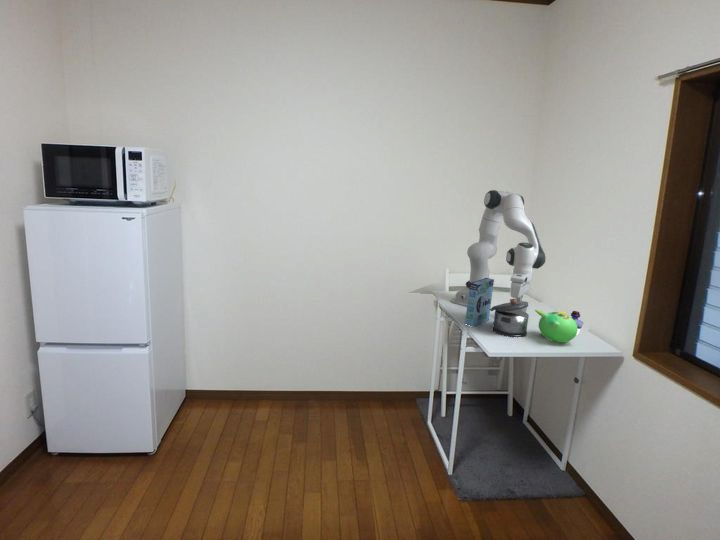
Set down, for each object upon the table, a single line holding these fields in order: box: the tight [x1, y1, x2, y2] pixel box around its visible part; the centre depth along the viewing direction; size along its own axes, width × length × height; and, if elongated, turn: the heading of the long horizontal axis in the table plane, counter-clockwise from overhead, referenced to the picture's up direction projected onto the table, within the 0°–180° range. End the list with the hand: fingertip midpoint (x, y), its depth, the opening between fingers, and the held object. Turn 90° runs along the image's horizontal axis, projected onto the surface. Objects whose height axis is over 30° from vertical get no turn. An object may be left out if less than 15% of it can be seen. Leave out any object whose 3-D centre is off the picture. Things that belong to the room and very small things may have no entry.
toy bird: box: [534, 309, 578, 343], centre depth 213 cm, size 18×17×15 cm
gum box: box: [464, 277, 495, 327], centre depth 234 cm, size 20×5×23 cm, turn 139°
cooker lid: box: [490, 298, 529, 312], centre depth 222 cm, size 18×16×4 cm
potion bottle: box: [570, 310, 584, 336], centre depth 225 cm, size 9×9×12 cm
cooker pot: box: [492, 310, 530, 338], centre depth 223 cm, size 17×21×10 cm
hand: (518, 303), depth 219 cm, fingers closed, pressing on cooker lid
